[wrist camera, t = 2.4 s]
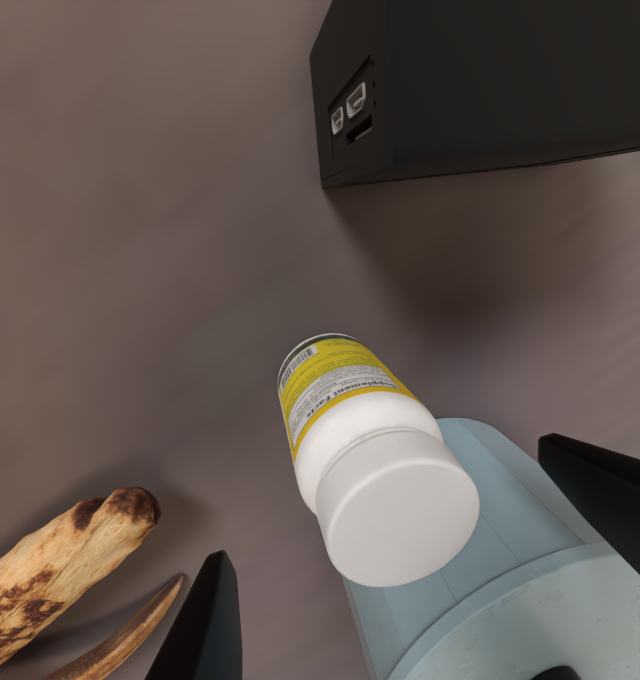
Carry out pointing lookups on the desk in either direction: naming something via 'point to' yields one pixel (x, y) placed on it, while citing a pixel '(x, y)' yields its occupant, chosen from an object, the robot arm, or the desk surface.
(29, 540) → the brown driftwood piece
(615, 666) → the pot lid
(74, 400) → the desk surface
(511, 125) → the digital camera
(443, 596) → the pot
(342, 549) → the supplement bottle
